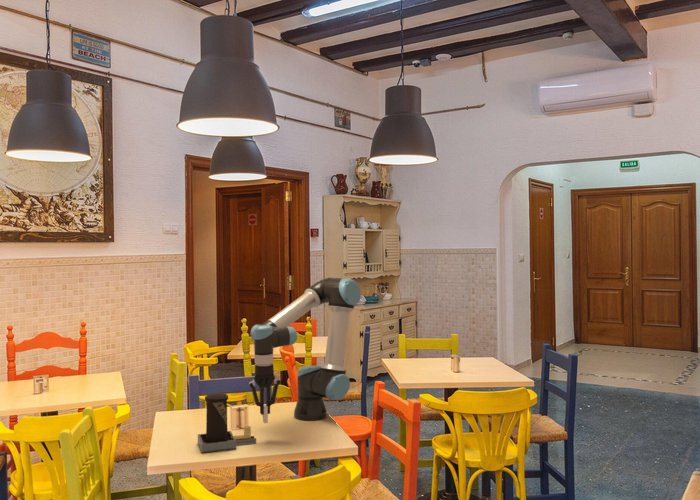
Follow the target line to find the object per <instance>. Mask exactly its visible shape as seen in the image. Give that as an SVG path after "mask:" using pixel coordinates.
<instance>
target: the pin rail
mask: <svg viewBox="0 0 700 500" xmlns="http://www.w3.org/2000/svg"><path fill="white" fill-rule="evenodd" d="M254 444H257V438H256V437H255V436H254V435H251V439H243V440H236V447H238V446H245V445H254Z"/></svg>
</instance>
